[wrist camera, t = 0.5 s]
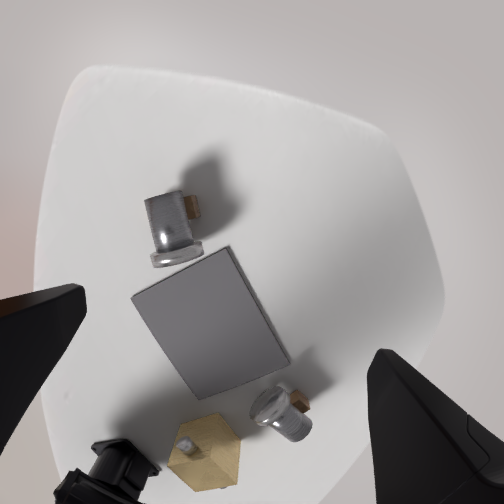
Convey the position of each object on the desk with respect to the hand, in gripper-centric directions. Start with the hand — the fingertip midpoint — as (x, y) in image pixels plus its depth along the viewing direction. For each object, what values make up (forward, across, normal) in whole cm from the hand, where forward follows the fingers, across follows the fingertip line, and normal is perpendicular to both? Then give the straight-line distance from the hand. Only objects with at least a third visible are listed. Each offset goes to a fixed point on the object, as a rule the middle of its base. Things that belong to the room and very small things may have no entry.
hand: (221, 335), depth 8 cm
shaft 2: (+13, -5, +15) cm, 21 cm away
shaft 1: (+15, +6, +2) cm, 16 cm away
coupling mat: (+13, +3, +10) cm, 17 cm away
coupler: (+12, +1, +21) cm, 24 cm away
